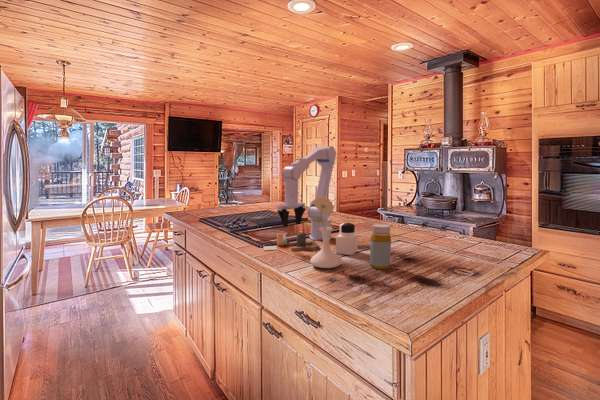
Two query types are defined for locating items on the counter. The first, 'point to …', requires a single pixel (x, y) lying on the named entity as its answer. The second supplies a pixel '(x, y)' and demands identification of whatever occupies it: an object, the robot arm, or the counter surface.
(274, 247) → the off-white flat square block
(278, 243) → the latch bar
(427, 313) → the counter surface
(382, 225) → the bottle
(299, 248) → the frame
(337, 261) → the flower in vase
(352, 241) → the medicine bottle
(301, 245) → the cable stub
